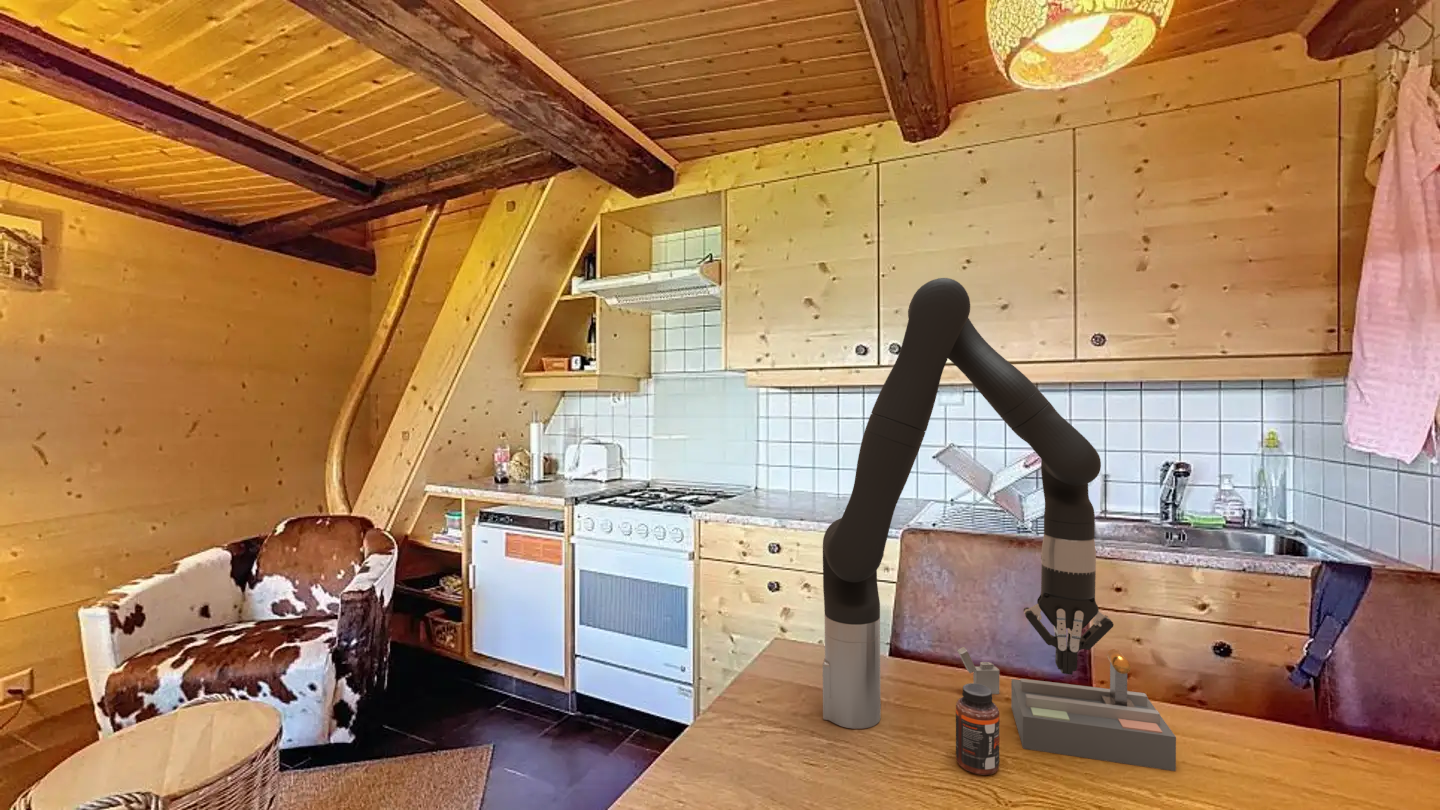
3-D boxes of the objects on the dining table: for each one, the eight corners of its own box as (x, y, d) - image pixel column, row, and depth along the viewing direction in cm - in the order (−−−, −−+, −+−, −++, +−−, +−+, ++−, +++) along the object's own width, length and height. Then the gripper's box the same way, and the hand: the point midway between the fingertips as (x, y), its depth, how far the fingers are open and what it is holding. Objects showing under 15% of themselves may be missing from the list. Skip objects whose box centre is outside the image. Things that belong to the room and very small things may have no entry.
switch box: (1022, 748, 96) (1022, 706, 96) (1011, 707, 109) (1011, 669, 109) (1175, 771, 90) (1176, 726, 90) (1145, 725, 103) (1145, 685, 103)
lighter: (995, 689, 115) (995, 646, 115) (999, 694, 114) (999, 650, 114) (956, 689, 116) (956, 646, 115) (960, 694, 114) (960, 650, 114)
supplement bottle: (1004, 779, 89) (1003, 700, 89) (959, 775, 90) (959, 697, 90) (994, 755, 95) (994, 681, 94) (952, 751, 96) (952, 678, 96)
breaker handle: (1107, 712, 97) (1107, 658, 97) (1100, 700, 101) (1100, 647, 100) (1137, 716, 96) (1137, 661, 95) (1129, 703, 99) (1129, 650, 99)
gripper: (1025, 566, 98) (1023, 676, 99) (1123, 574, 94) (1120, 689, 94) (1018, 554, 105) (1017, 657, 106) (1109, 561, 101) (1106, 668, 102)
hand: (1066, 672), depth 100 cm, fingers closed
